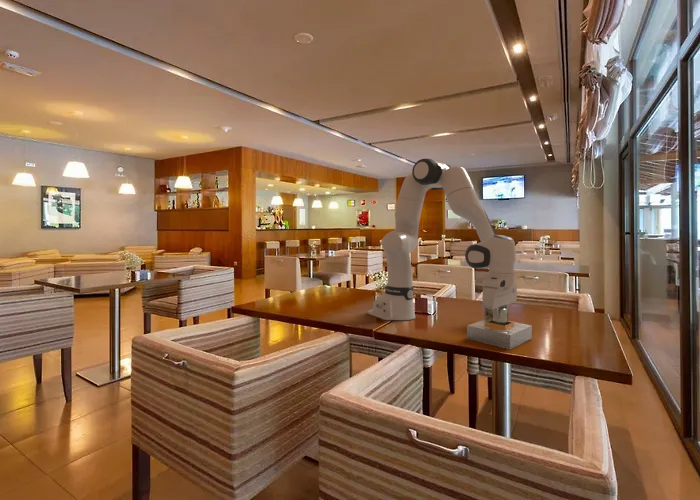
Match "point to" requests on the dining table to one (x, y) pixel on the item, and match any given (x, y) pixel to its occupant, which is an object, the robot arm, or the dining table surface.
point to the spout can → (501, 316)
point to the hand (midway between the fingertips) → (499, 317)
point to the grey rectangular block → (499, 333)
